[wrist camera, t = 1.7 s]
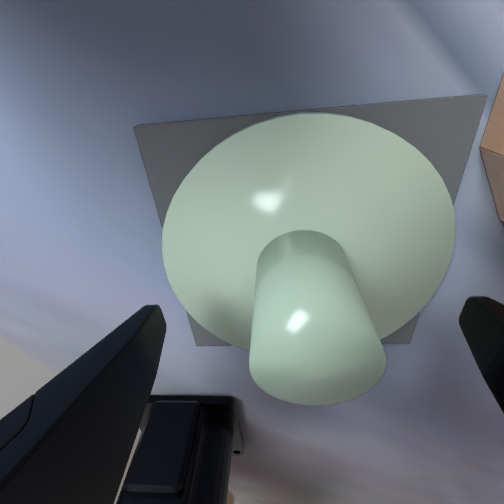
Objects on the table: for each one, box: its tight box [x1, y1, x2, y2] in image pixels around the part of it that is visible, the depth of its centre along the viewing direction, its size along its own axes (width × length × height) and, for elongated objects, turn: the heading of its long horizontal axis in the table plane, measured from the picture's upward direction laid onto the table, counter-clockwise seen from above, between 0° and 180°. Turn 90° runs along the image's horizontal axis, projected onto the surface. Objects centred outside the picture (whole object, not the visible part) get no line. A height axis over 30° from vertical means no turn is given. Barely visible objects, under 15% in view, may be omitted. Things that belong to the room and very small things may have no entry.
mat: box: [133, 94, 488, 346], centre depth 11 cm, size 10×10×1 cm
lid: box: [162, 112, 456, 406], centre depth 9 cm, size 10×10×5 cm
